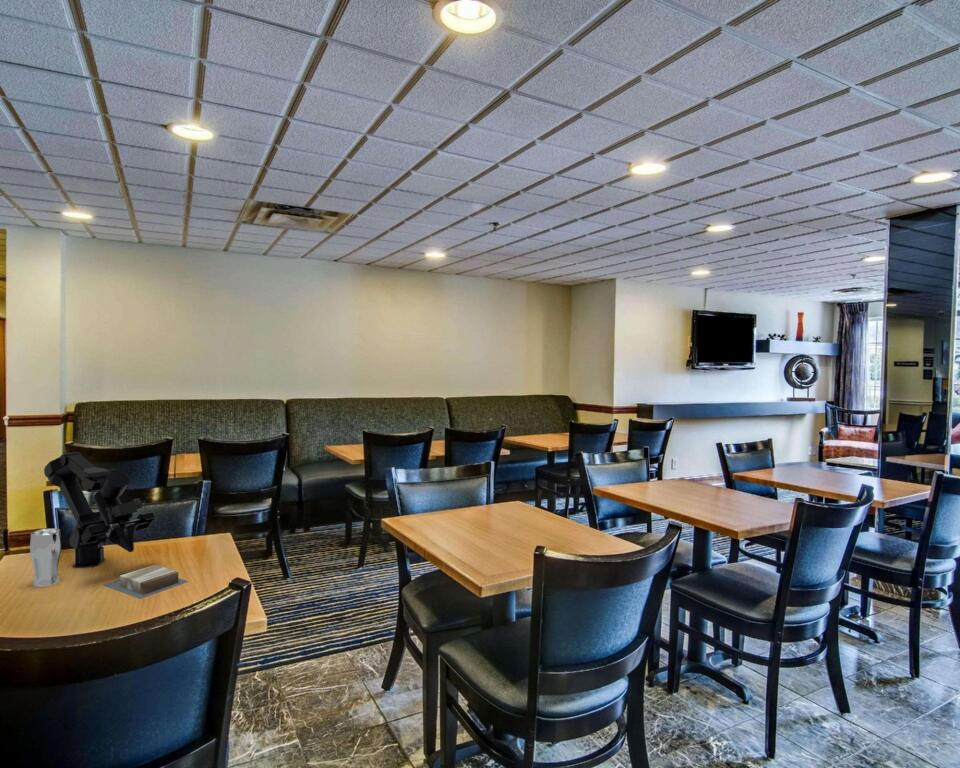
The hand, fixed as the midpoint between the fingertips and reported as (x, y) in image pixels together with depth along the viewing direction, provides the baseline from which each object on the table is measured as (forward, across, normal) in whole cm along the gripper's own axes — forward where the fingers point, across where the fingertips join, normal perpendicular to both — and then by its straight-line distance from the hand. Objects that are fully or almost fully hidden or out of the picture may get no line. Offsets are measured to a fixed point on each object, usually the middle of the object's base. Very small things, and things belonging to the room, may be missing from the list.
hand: (131, 551), depth 165 cm
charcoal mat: (+11, 0, +1) cm, 11 cm away
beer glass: (-6, -14, +18) cm, 24 cm away
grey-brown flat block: (+7, 0, +2) cm, 7 cm away
